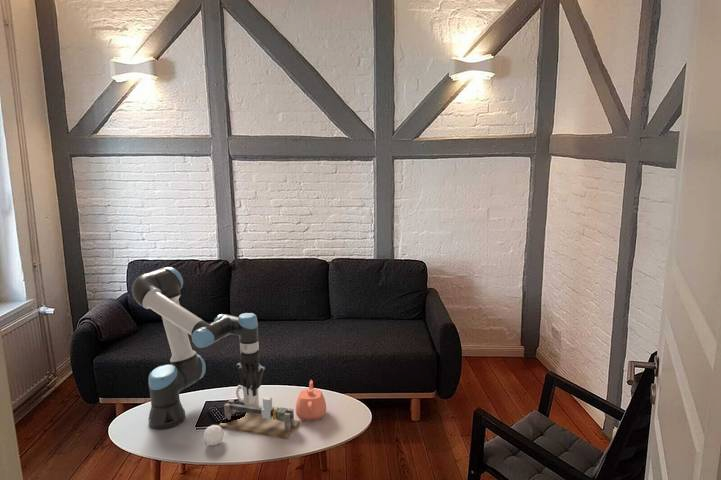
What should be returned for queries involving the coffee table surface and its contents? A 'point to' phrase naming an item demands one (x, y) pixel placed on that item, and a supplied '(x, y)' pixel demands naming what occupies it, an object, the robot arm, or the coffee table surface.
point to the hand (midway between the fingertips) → (252, 402)
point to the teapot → (310, 404)
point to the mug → (247, 397)
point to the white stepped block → (267, 408)
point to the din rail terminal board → (261, 421)
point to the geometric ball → (213, 434)
